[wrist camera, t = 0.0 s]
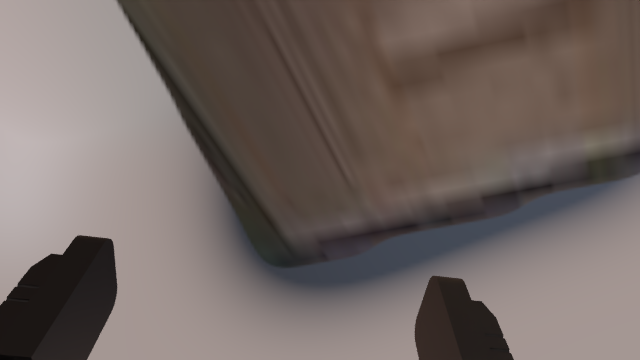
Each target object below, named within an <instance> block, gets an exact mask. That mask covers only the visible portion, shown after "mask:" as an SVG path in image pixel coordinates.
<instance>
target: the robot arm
mask: <svg viewBox="0 0 640 360" xmlns="http://www.w3.org/2000/svg"><path fill="white" fill-rule="evenodd" d="M115 268H116V267H115V256H114V246H113V241H112V240H111V239H108V238H99V237H90V236H81V235H80V236H77V237H75V239H74V240H73V241H72V243H71V244H70V245H69V247H68V248H67V249H66V251H65V252H64V254H63V255H58V254H50V255H49V256H47V257H46V258H44V259H43V260H41V261H39V262H38V263H36V264H35V265H33V266H32V267H31V268H30V269H29V270H28V272H27V273H26V274H25V275H24V276H23V278H22V279H21V280H20V282H19V283H18V286H17V287H15V288H14V289H13V290H12V291H11V293H10V294H9V295H8V296H7V300H6V301H4V302H3V303H2V304H1V305H0V360H87V358H88V356H89V354H90V353H91V351H92V349H93V347H94V345H95V343H96V341H97V339H98V337H99V335H100V333H101V331H102V329H103V327H104V325H105V323H106V321H107V319H108V317H109V315H110V314H111V311H112V309H113V306H114V304H115V299H116V294H117V279H116V269H115ZM415 342H416V347H417V352H418V356H419V360H514V359H513V357H512V354H511V353H509V348H508V345H507V343H506V340H505V339H503V333H502V331H501V329H500V326H499V324H498V321H497V319H496V317H495V316H494V315H493V314H492V313H491V312H490V311H489V309H488V308H487V307H486V306H485V305H484V304H483V303H482V301H473V300H471V298H470V295H469V293H468V290H467V288H466V285H465V283H464V281H463V280H462V279H458V278H449V277H440V276H432V277H431V278H430V280H429V283H428V285H427V288H426V291H425V295H424V297H423V300H422V304H421V306H420V309H419V312H418V316H417V319H416V324H415Z"/></svg>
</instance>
